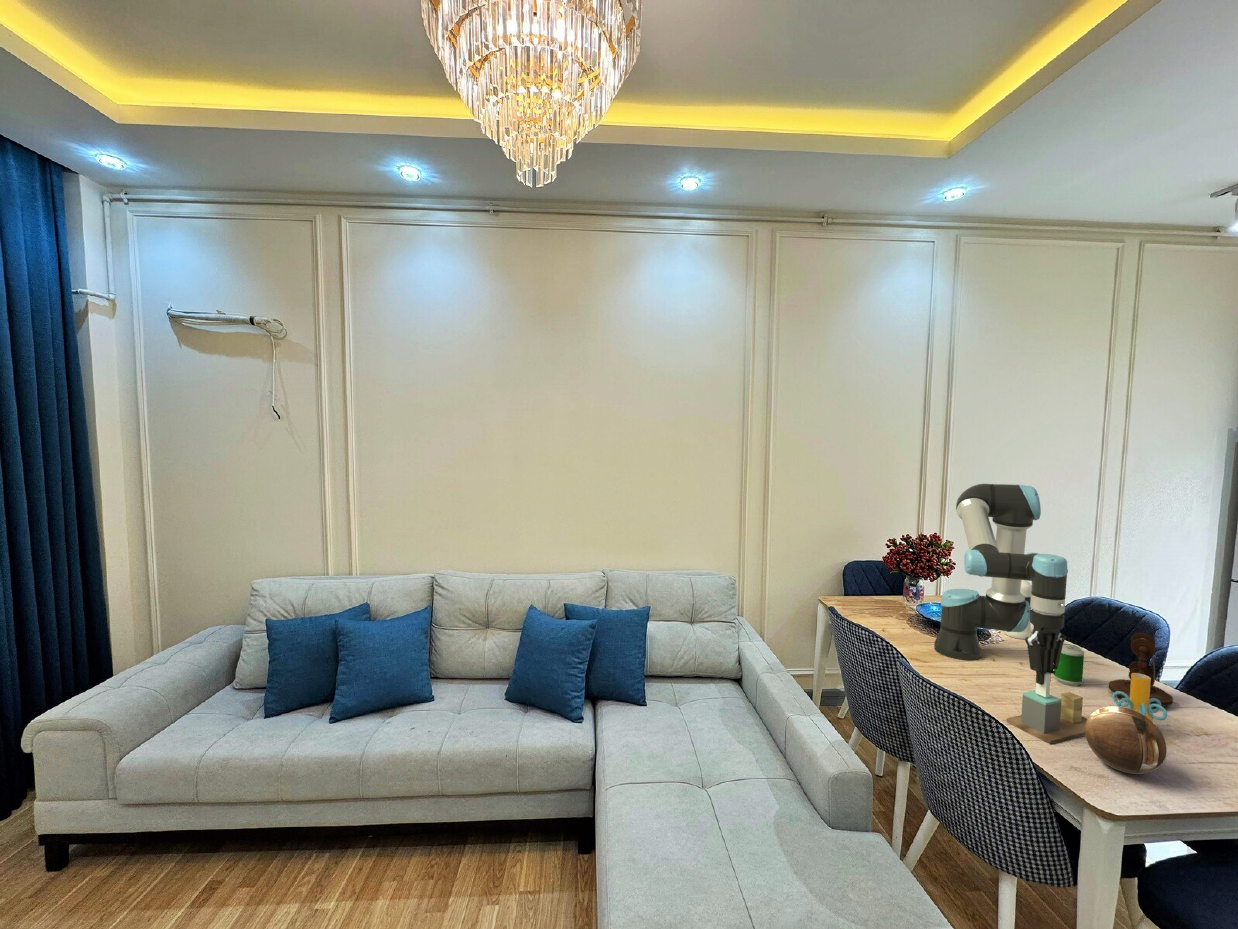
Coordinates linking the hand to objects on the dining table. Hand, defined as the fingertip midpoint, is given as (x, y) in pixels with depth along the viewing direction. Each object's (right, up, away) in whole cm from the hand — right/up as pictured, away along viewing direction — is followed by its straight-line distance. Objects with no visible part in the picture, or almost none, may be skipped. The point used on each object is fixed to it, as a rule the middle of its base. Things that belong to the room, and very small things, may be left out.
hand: (1042, 694), depth 156 cm
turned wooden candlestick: (+44, -9, +19) cm, 49 cm away
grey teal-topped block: (0, -9, +1) cm, 9 cm away
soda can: (+31, -8, +30) cm, 44 cm away
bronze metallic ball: (+7, -12, -17) cm, 22 cm away
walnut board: (+6, -10, +3) cm, 12 cm away
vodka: (+44, -6, +71) cm, 84 cm away
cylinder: (+28, -10, +2) cm, 30 cm away
